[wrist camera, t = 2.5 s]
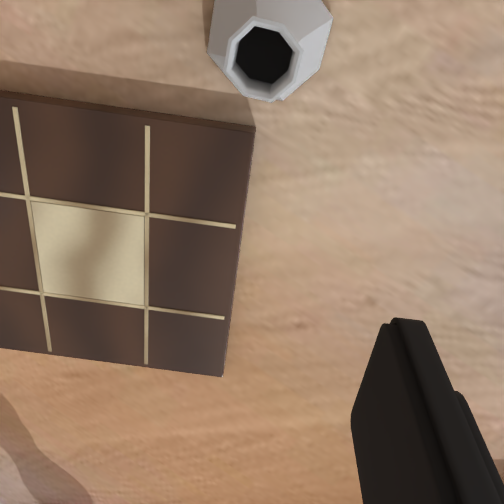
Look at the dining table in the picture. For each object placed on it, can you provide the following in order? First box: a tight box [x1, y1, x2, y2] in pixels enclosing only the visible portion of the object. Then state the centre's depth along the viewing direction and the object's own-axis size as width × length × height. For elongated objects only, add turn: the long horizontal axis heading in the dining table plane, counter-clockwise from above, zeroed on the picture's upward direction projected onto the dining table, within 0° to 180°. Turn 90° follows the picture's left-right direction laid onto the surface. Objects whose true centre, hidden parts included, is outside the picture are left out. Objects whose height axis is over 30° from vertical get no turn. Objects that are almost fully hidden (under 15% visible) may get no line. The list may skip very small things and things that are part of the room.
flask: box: [207, 0, 333, 103], centre depth 23 cm, size 7×7×10 cm
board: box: [0, 90, 256, 377], centre depth 35 cm, size 22×22×2 cm
